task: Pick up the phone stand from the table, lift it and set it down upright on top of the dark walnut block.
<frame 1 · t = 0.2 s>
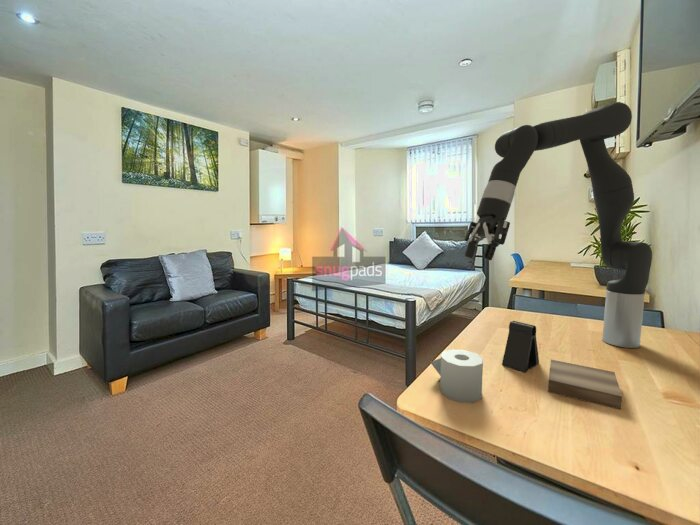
hand: (477, 258, 82), 30 cm above the table, tool tilted 20°, fingers open, 8 cm apart
walnut block: (581, 387, 73), on the table
toilet tissue: (456, 389, 74), on the table
phone stand: (520, 365, 86), on the table
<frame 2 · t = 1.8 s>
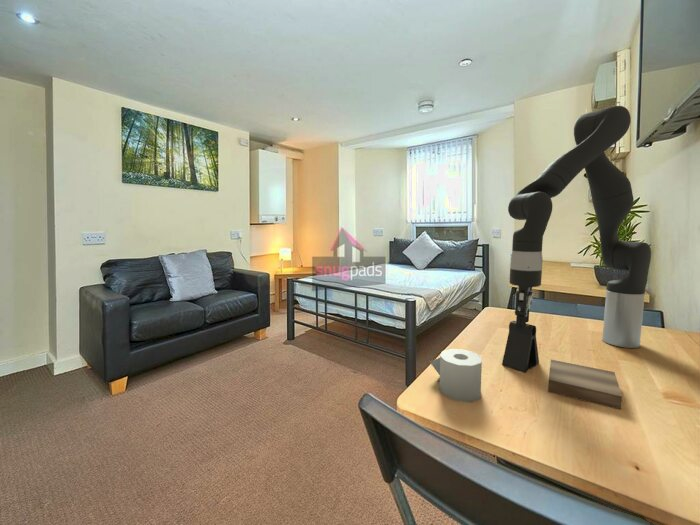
hand: (522, 325, 84), 11 cm above the table, tool pointing down, fingers open, 8 cm apart
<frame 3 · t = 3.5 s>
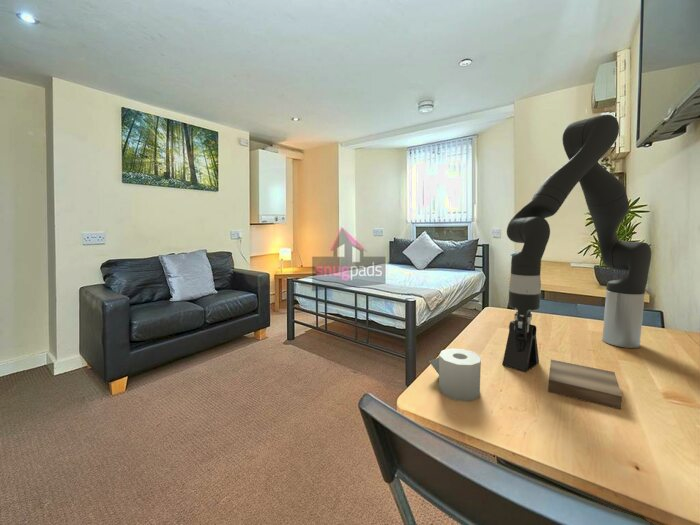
hand: (521, 349, 85), 4 cm above the table, tool pointing down, fingers closed on phone stand, 3 cm apart
phone stand: (520, 365, 86), on the table, touching gripper
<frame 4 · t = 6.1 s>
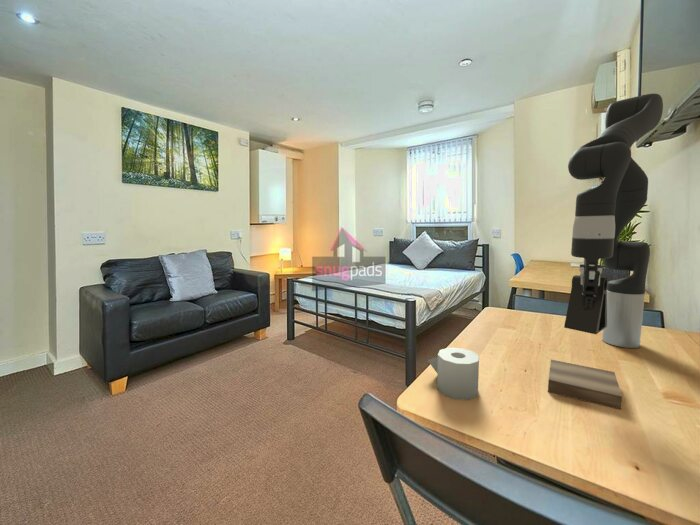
hand: (587, 309, 71), 19 cm above the table, tool pointing down, fingers closed on phone stand, 3 cm apart
phone stand: (585, 328, 71), point 15 cm above the table, touching gripper
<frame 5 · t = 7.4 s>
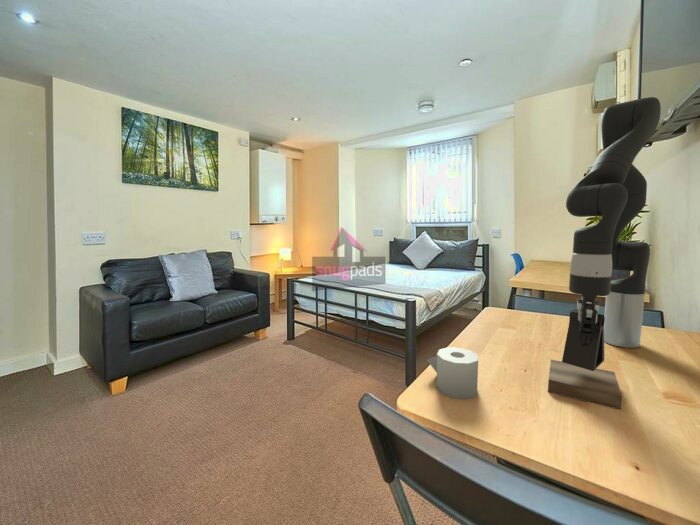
hand: (584, 344, 72), 11 cm above the table, tool pointing down, fingers closed on phone stand, 3 cm apart
phone stand: (583, 362, 72), point 6 cm above the table, touching gripper
when the fingers open (9 cm above the table, at t = 8.6 s): phone stand drops 1 cm, resting on walnut block.
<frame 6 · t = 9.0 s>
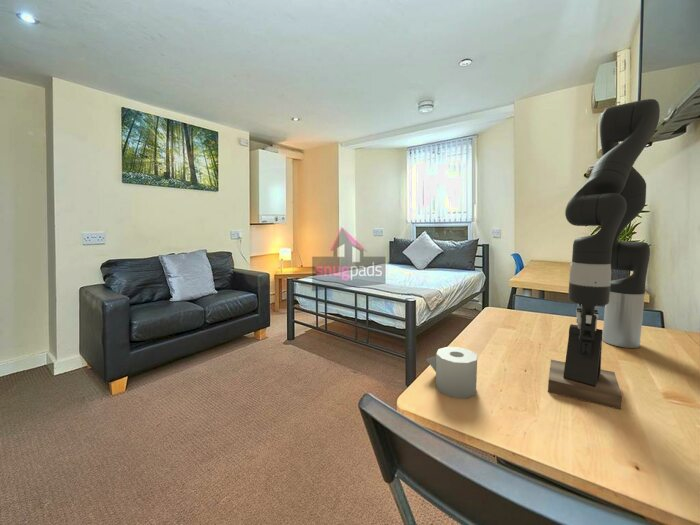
hand: (584, 350, 72), 9 cm above the table, tool pointing down, fingers open, 7 cm apart
phone stand: (582, 376, 73), point 3 cm above the table, touching walnut block
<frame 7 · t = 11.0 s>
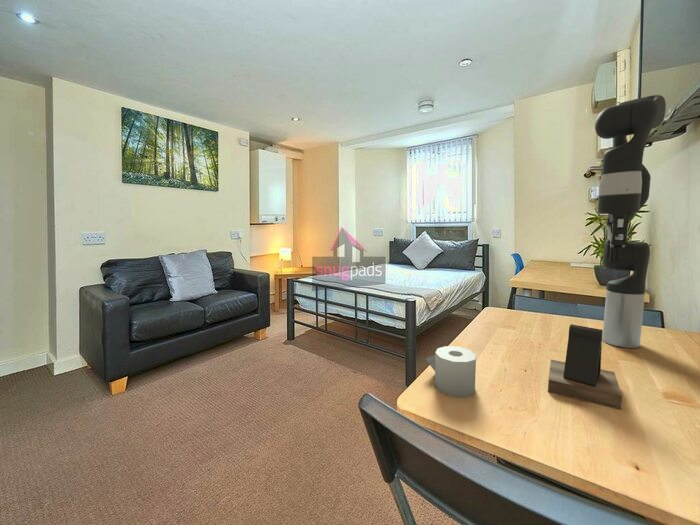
hand: (613, 261, 74), 30 cm above the table, tool pointing down, fingers open, 8 cm apart
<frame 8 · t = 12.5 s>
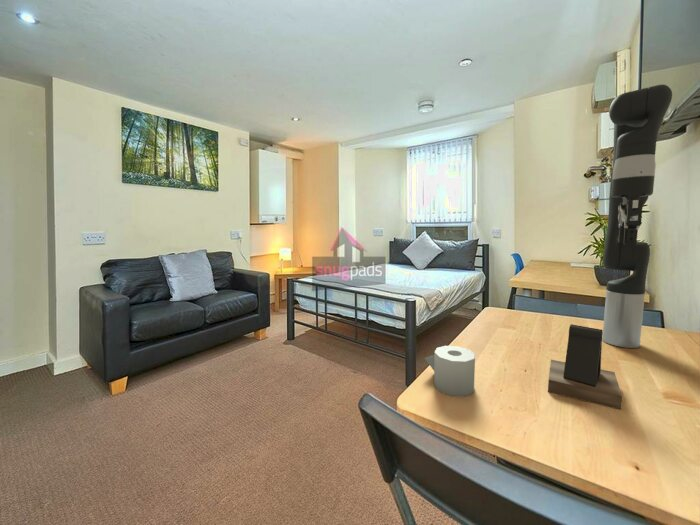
hand: (626, 243, 75), 34 cm above the table, tool pointing down, fingers open, 8 cm apart
at the end: phone stand inside the target area on the walnut block (0.1 cm from its centre), point 2.8 cm above the walnut block's base; phone stand tilted 0°; the gripper is holding nothing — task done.
